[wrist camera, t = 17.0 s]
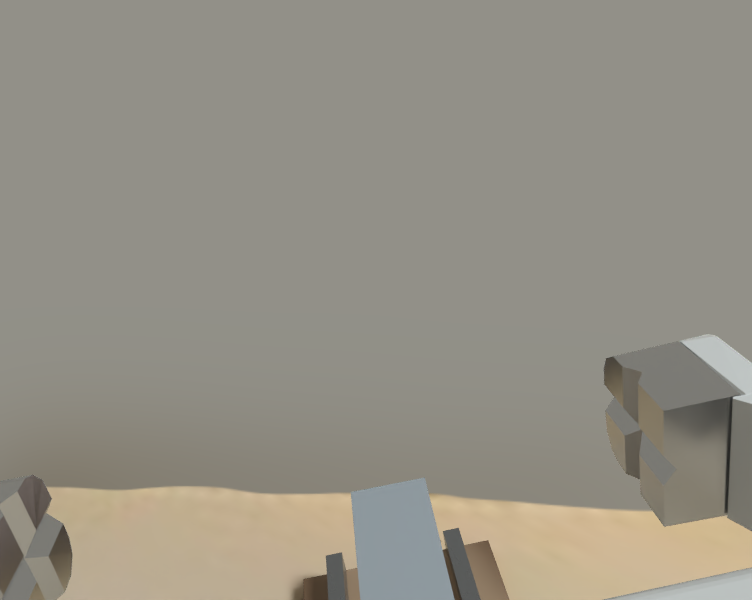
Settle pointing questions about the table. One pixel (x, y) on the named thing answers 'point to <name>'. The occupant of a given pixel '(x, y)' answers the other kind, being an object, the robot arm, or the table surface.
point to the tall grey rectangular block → (398, 544)
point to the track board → (464, 565)
